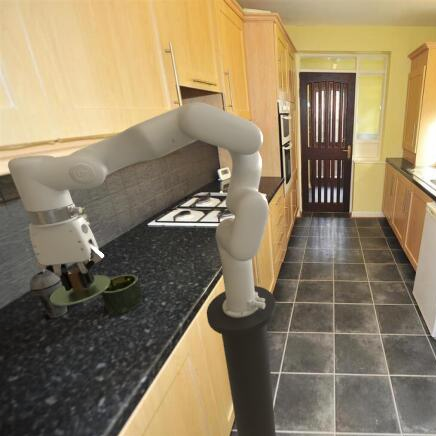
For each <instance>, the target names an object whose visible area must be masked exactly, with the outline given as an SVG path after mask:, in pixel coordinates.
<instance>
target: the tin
mask: <svg viewBox="0 0 436 436" xmlns="http://www.w3.org/2000/svg"><path fill="white" fill-rule="evenodd" d="M109 279H110V285H109V286H108V288H107V289H106V290H104V291H103V292H102V293H100V294H101V298H102V301H103V304H104V307H105V309H106V312H107V313H108V314H110V315H122V314H125V313H129V312H131V311H133V310H134V309H135V310H136V308H138V307H139V306H140V305H141V304H142V303H143V301H144V296H143V293H142V289H141V285H140V282H139V278H138V276H137V275H135V274H121V275H117V276H114V277H112V278H109ZM118 289H121V290H118Z"/></svg>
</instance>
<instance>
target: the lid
mask: <svg viewBox="0 0 436 436" xmlns="http://www.w3.org/2000/svg"><path fill="white" fill-rule="evenodd" d="M66 273H67V276H68V279H69V281H70V284H71V286H72V289H71V290H70V291H66V290H65V287H64V286H63V285H62V286H61V287H60V288H58V289H57V290H56V291H54V292H53V293H52V295H51V296H50V301H51V303H52V304H54V305H61V306H62V305H67V306H70V305H75V304H79V303H83V302H85V301H88V300H91V299H93V298H94V297H96V296H98V295H100V294H101V293H102V292H103V291H104V290H106V289H107V288H108V286H109V285H110V279H111V278H110V277H109V276H107V275H102V274H101V275H98V274H97V275H93V276H94V282H93V283H92V284H91V286H90V287H89V288H84V286H83V283H82V281H81V278H80V274H81V273H82V272H81V271H80V269H79V267H78V266H76V267H73V268H70V269H68V271H67V272H66Z"/></svg>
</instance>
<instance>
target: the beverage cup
mask: <svg viewBox="0 0 436 436" xmlns="http://www.w3.org/2000/svg"><path fill="white" fill-rule="evenodd" d="M61 286H63V284H62V282H61V279H60V277H57V276H55V273H53V272H51V271H48V270H46V269H43V268H41V271H39V272H37V273H35V274H34V275H33V276H32V277H31V279H30V281H29V289H30V291H31V292H32V293H33V294H34V295H35V296H36V298H37V300H38V302H39V303H40V304H41V306H42V308H43V310H44V312H45V313H46V315H48V317H49V319H57V318H61V317H62V316H64V315H66V314H67V313H68V305H62V306H61V305H54V304H52V303H51V301H50V296H51V295H52V293H53V292H54V291H56V290H57V289H58V288H60V287H61Z"/></svg>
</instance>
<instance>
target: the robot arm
mask: <svg viewBox="0 0 436 436" xmlns="http://www.w3.org/2000/svg"><path fill="white" fill-rule="evenodd" d="M197 141H200V142H203V143H206V144H209V145H212V146H214V147H218V148H221V149H224V150H227V152H228V153H229V156H230V158H231V171H230V172H231V174H230V179H229V183H228V187H227V191H226V192H227V193H226V197H225V207H226V209H227V210H228V211H229V212H230V213H231V214H232V215H233V216H234V217H226V218H224V219H222V220H221V221H220V222H219V223H218V224H217V226H216V229H215V241H216V245H217V249H218V253H219V258H220V263H221V272H222V279H223V286H224V291H225V294H226V300H225V301H224V303H223V311H224V313H225V314H226V315H228V316H230V317H234V318H241V317H246V316H248V315H251V314H253V313H254V312H255V311H256V310H257V309H258V308H261V309H264V308H265V303H264V302H265V299H264V298H259V297H258V292H255V290H254V286H255V280H254V270H253V258H254V257H255V256H257V254H258V252H259V251H260V249H261V246H262V243H263V239H264V235H265V232H266V227H267V223H268V218H269V213H270V209H269V208H270V207H269V202H268V199H267V198H266V195H264V194H263V193H261V192H260V191H259V189H260V188H259V187H260V182H261V177H262V168H263V164H262V156H261V154H260V149H261V147H262V146H263V141H264V137H263V133H262V130H261V129H260V127H259V126H258V125H257V124H256V123H254V122H252V121H251V120H248V119H246V118H245V117H244V118H243V117H241V116H239V115H235V114H233V113H230V112H228V111H226V110H224V109H221V108H218V107H216V106H213V105H212V104H208V103H206V102H202V101H193V102H189V103H185V104H183V105H179V106H178V107H175V108H173V109H171V110H168V111H166V112H163V113H161V114H159V115H155V116H154V117H151V118H148V119H146V120H143V121H141V122H138V123H135V124H134V125H132V126H130V127H128V128H126V129H125V130H122V131H121V132H119V133H116V134H114V135H112V136H109V137H106V138H105V139H102V140H99V141H97V142H94V143H92V144H90V145H88V146H85V147H83V148H79V149H77V150H75V151H73V152H71V153H70V154H67V155H62V156H56V157H55V156H52V155H50V154H49V155H48V154H47V155H45V154H39V155H37V154H36V155H26V156H18V157H14V158H12V159H10V160H8V163H7V168H8V172H9V173H10V176H11V178H12V180H13V183H14V185H15V188H16V190H17V192H18V195H19V197H20V200H21V202H22V205H23V207H24V209H25V212H26V214H27V217H28V219H29V221H30V223H29V224H28V232H29V238H30V242H31V246H32V249H33V252H34V254H35V257H36V260H35V261H36V262H35V267H36V268H39V269H42V268H43V269H45V270H46V271H51V272H53V273H55V276H57V277H60V279H61V282H62V286H64V287H65V290H66V291H70V290H71V289H72V286H71V284H70V281H69V279H68V276H67V273H66V272H67V271H68V270H69V267H68V264H75V263H76V265H77V267H79V269H80V271H81V272H82V273H81V274H80V278H81V281H82V283H83V286H84V288H89V287H90V286H91V284H92V283H93V282H94V276H95V275H94V273H93V270H92V268H93V267H94V265H96V264H97V263H99V262H100V261H102V260H103V259H104V258H105V255H104V254H103V253H102V251H100V250H99V245H98V243H97V240H96V238H95V236H94V233H93V232H92V229H91V228H90V225H89V224H88V222H87V221H86V219H85V217H84V216H83V215H78V214H82V213H83V208H82V207H81V206H76V205H75V203H74V201H73V199H72V196H71V192H70V190H77V191H78V190H91V189H92V190H93V189H95V188H98V187H99V186H102V184H103V183H104V181H105V179H106V177H107V176H108V175H110V174H111V175H112V174H113V173H115V172H118V171H119V170H121V169H123V168H126V167H128V166H132V165H134V164H136V163H140V162H149V161H154V160H157V159H161V158H162V157H165V156H167V155H169V154H171V153H173V152H175V151H177V150H179V149H181V148H184V147H186V146H188V145H191V144H193V143H195V142H197ZM262 302H263V303H262Z"/></svg>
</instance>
